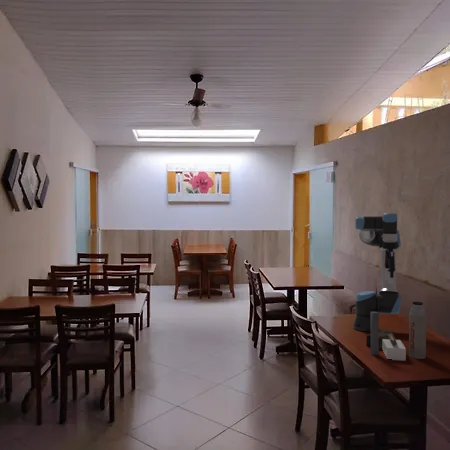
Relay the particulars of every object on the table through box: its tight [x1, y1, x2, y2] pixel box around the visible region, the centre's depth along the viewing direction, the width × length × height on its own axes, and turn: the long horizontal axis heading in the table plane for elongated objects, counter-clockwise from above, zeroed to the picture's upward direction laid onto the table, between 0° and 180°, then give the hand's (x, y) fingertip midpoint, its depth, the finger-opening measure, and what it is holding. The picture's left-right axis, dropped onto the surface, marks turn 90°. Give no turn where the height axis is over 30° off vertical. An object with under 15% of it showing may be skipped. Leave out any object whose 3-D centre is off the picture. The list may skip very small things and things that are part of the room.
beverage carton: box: [365, 328, 396, 349], centre depth 252 cm, size 8×19×7 cm, turn 133°
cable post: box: [370, 312, 380, 356], centre depth 234 cm, size 4×4×22 cm
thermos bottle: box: [408, 301, 427, 360], centre depth 230 cm, size 8×8×28 cm
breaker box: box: [381, 339, 407, 362], centre depth 233 cm, size 15×9×6 cm, turn 169°
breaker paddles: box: [388, 334, 397, 345], centre depth 233 cm, size 10×2×3 cm, turn 169°
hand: (389, 281), depth 245 cm, fingers open, 11 cm apart
